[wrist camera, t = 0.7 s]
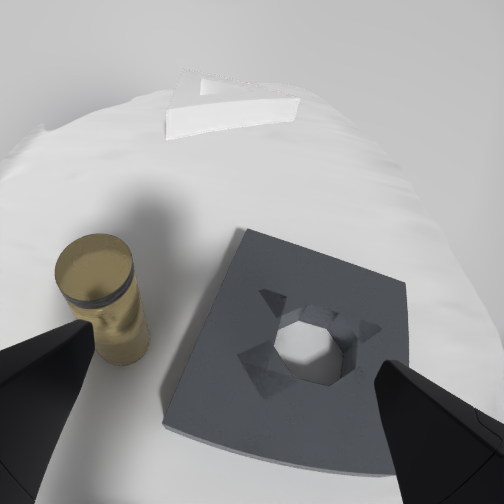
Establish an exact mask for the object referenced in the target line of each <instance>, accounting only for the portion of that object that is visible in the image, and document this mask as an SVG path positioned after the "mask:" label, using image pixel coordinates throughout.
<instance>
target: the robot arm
mask: <svg viewBox="0 0 504 504" xmlns="http://www.w3.org/2000/svg"><path fill="white" fill-rule="evenodd" d="M94 351H95V339H94V330H93V325H92V323H91V322H90V321H86V320H83V319H78V320H75V321H73V322H70V323H68V324H65V325H63V326H60V327H58V328H55V329H53V330H50V331H48V332H45V333H43V334H40V335H38V336H36V337H33V338H31V339H28V340H26V341H23V342H21V343H18V344H16V345H13V346H11V347H8V348H6V349H3V350H1V351H0V504H34V503H35V500H36V497H37V494H38V491H39V488H40V485H41V482H42V480H43V477H44V474H45V472H46V469H47V466H48V464H49V461H50V459H51V456H52V454H53V451H54V449H55V446H56V444H57V441H58V439H59V437H60V434H61V432H62V430H63V427H64V425H65V423H66V421H67V418H68V416H69V414H70V412H71V410H72V407H73V405H74V403H75V401H76V399H77V397H78V395H79V392H80V390H81V387H82V384H83V382H84V379H85V376H86V373H87V370H88V367H89V365H90V362H91V359H92V356H93V354H94ZM374 388H375V393H376V398H377V403H378V408H379V413H380V418H381V423H382V427H383V430H384V433H385V437H386V440H387V444H388V447H389V451H390V454H391V458H392V461H393V465H394V469H395V473H396V476H397V480H398V484H399V488H400V492H401V496H402V501H403V504H504V424H503V423H501V422H499V421H497V420H495V419H493V418H492V417H490V416H488V415H486V414H485V413H483V412H481V411H480V410H478V409H476V408H474V407H473V406H471V405H470V404H468V403H466V402H465V401H463V400H461V399H460V398H458V397H456V396H455V395H453V394H451V393H450V392H448V391H446V390H445V389H443V388H442V387H440V386H438V385H437V384H435V383H433V382H432V381H430V380H429V379H427V378H425V377H424V376H422V375H420V374H419V373H417V372H416V371H414V370H412V369H411V368H409V367H407V366H406V365H404V364H403V363H401V362H399V361H398V360H395V359H393V360H385V361H384V362H383V363H382V365H381V367H380V369H379V371H378V373H377V375H376V377H375V379H374Z"/></svg>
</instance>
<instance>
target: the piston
mask: <svg viewBox="0 0 504 504" xmlns="http://www.w3.org/2000/svg"><path fill="white" fill-rule="evenodd" d="M55 280H56V283H57V285H58V287H59V289H60V291H61V293H62V294H63V296H64V297H65V299H66V301H67V303H68V304H69V306H70V308H71V310H72V311H73V313H74V315H75V316H76V318H77V320H78V319H83V320H86V321H90V322H91V323H92V325H93V330H94V339H95V348H96V349H97V351H98V352H99V354H100V355H101V356H102V357H103V358H104V359H105V360H106V361H108V362H110V363H112V364H115V365H128V364H132V363H134V362H136V361H138V360H139V359H140V358H141V357H143V355H144V354H145V353H146V351H147V349H148V347H149V343H150V334H149V330H148V327H147V323H146V319H145V315H144V311H143V307H142V303H141V298H140V294H139V290H138V285H137V281H136V276H135V271H134V265H133V259H132V254H131V252H130V249H129V248H128V246H127V245H126V244H125V243H124V242H123V241H122V240H120V239H119V238H117V237H115V236H112V235H108V234H91V235H87V236H84V237H81V238H79V239H77V240H75V241H74V242H72V243H71V244H70V245H68V246H67V247H66V248H65V249H64V250H63V252H62V253H61V254H60V256H59V258H58V260H57V263H56V266H55Z"/></svg>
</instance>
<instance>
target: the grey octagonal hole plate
mask: <svg viewBox="0 0 504 504" xmlns="http://www.w3.org/2000/svg"><path fill="white" fill-rule="evenodd" d="M296 321H302V322H306V323H309V324H312V325H315V326H319V327H322V328H325V329H327V330H328V331H329V333H330V334H331V335H332V337H333V338H334V340H335V341H336V343H337V344H338V345H339V347H340V348H341V350H342V351H343V353H344V355H343V363H342V370H341V376H340V380H338V381H337V382H335V383H333V384H332V385H330V386H325V385H321V384H317V383H313V382H309V381H305V380H302V379H298V378H294V377H293V376H292V374H291V373H290V371H289V370H288V368H287V367H286V365H285V363H284V362H283V360H282V359H281V357H280V355H279V354H278V352H277V351H276V349H275V347H274V342H275V339H276V335H277V332H278V330H279V329H281V328H283V327H285V326H288V325H290V324H292V323H294V322H296ZM393 359H395V360H398V361H399V362H401V363H403V364H404V365H406V366H407V367H409V331H408V310H407V295H406V284H405V282H402V281H399V280H396V279H393V278H391V277H388V276H385V275H382V274H379V273H377V272H374V271H371V270H368V269H365V268H362V267H360V266H357V265H354V264H351V263H348V262H345V261H342V260H340V259H337V258H334V257H331V256H328V255H325V254H322V253H319V252H316V251H313V250H310V249H307V248H305V247H302V246H299V245H296V244H293V243H290V242H287V241H284V240H281V239H278V238H275V237H272V236H269V235H266V234H263V233H260V232H257V231H254V230H250V229H247V230H246V232H245V235H244V237H243V239H242V241H241V244H240V246H239V248H238V250H237V252H236V255H235V257H234V259H233V261H232V264H231V266H230V268H229V270H228V272H227V275H226V277H225V279H224V281H223V284H222V286H221V288H220V290H219V293H218V295H217V297H216V299H215V302H214V304H213V306H212V308H211V311H210V313H209V315H208V318H207V320H206V322H205V324H204V327H203V329H202V331H201V334H200V336H199V338H198V340H197V343H196V345H195V347H194V350H193V352H192V354H191V356H190V359H189V361H188V363H187V366H186V368H185V370H184V373H183V375H182V377H181V380H180V382H179V384H178V387H177V389H176V391H175V394H174V396H173V398H172V401H171V403H170V405H169V408H168V410H167V412H166V415H165V417H164V420H163V422H162V424H163V426H164V427H165V428H166V429H168V430H170V431H172V432H175V433H177V434H180V435H183V436H185V437H188V438H190V439H193V440H196V441H199V442H202V443H204V444H207V445H210V446H213V447H216V448H220V449H223V450H226V451H229V452H233V453H236V454H239V455H243V456H247V457H250V458H254V459H258V460H262V461H266V462H271V463H275V464H280V465H284V466H289V467H295V468H300V469H306V470H312V471H318V472H325V473H333V474H342V475H352V476H364V477H387V476H395V475H396V473H395V469H394V465H393V461H392V458H391V454H390V451H389V447H388V444H387V440H386V437H385V433H384V430H383V427H382V423H381V418H380V413H379V408H378V403H377V398H376V393H375V388H374V379H375V377H376V375H377V373H378V371H379V369H380V367H381V365H382V363H383V362H384V361H385V360H393Z"/></svg>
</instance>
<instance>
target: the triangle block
mask: <svg viewBox="0 0 504 504" xmlns="http://www.w3.org/2000/svg"><path fill="white" fill-rule="evenodd" d="M299 101H300V98H298V97H295V96H292V95H289V94H286V93H282V92H279V91H276V90H272V89H269V88H265V87H262V86H258V85H254V84H250V83H247V82H243V81H238V80H234V79H230V78H225V77H221V76H216V75H212V74H206V73H201V72H196V71H190V70H185V69H183V71H182V73H181V76H180V78H179V81H178V83H177V85H176V88H175V90H174V93H173V95H172V98H171V100H170V103H169V105H168V108H167V117H166V141H167V140H172V139H176V138H181V137H186V136H191V135H196V134H202V133H207V132H213V131H219V130H225V129H231V128H238V127H245V126H253V125H261V124H269V123H279V122H289V121H294V119H295V116H296V112H297V108H298V105H299Z"/></svg>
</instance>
